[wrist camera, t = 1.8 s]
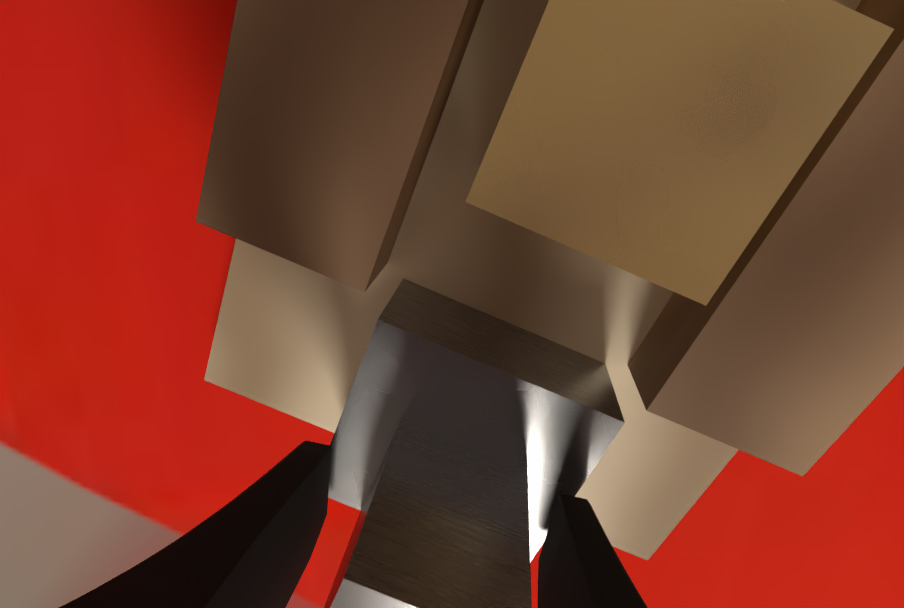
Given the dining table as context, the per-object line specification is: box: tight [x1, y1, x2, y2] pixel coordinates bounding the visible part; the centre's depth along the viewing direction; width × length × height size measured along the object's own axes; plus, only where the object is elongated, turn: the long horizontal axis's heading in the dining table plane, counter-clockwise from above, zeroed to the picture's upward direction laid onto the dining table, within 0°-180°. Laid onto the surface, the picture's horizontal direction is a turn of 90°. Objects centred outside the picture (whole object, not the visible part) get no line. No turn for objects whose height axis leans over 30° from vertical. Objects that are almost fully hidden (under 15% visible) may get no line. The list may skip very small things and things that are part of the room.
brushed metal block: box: [324, 278, 625, 608], centre depth 11 cm, size 6×5×6 cm
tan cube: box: [466, 0, 894, 305], centre depth 9 cm, size 4×4×4 cm
